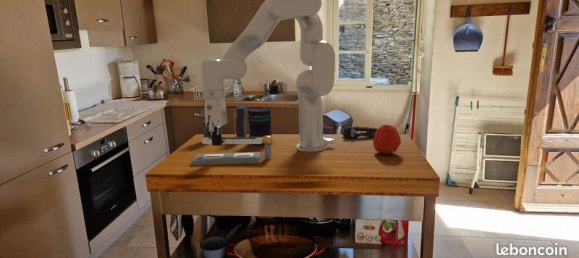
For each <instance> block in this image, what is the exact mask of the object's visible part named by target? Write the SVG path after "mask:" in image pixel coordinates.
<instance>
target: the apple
mask: <svg viewBox="0 0 579 258" xmlns="http://www.w3.org/2000/svg"><path fill="white" fill-rule="evenodd" d="M374 134H375V136H374V138H373V141H372V143H373V148H374V150H375V152H378V153H380V154H393V153H395V152H397V150H398V149H399V148H400V146H401V143H402V139H401V136H400V134H399V131H398V129H397V128H396V127H395V126H394V125H390V124H383V125H380V126H379V127H378V128H377V131H376V132H374Z"/></svg>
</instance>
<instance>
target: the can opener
mask: <svg viewBox="0 0 579 258" xmlns="http://www.w3.org/2000/svg"><path fill="white" fill-rule="evenodd" d="M377 129H378V128H376V127H368V126H360V125H356V126H347V127H344V128H343V133H341V134H342V136H343V137H345V138H348V139H349V140H353V139H354V140H355V139H356V138H359V137H367V138H373V139H374V136H375V133H376V131H377ZM372 132H373V133H372Z"/></svg>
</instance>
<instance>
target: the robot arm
mask: <svg viewBox="0 0 579 258" xmlns="http://www.w3.org/2000/svg"><path fill="white" fill-rule="evenodd" d="M322 3H323V2H322V0H264V1H263V2H262V4H261V6H260V7H259V9H258V10H257V11H256V13H255V14H254V15H253V17H252V19H251V20H250V22H249V23H248V25H247V26H246V27H245V29H244V30H243V31H242V32H241V33H240V34H239V36H238V37H237V38H236V39H235V40H234V41H233V42H232V44H231V45H230V46H229V48H228V49H227V50H226V52H225V53H224V55H223V57H222V58H221V59H220V58H207V59H206V58H205V59H202V61H201V63H200V64H201V80H202V96H203V100H204V108H205V124H206V127H209V132H211V135H212V144H211V145H212V146H215V147H216V146H217V147H218V146H219V147H220V146H221V145H223V144H222V137H223V136H222V132H223V127H224V126H225V125H227V123H228V116H227V115H228V114H227V106H226V89H225V79H226V80H227V79H228V80H240V79H242V78H244V76H246V74H247V72H248V66H247V63H246V62H245V61H246V59H247V58H248V57H249V56H250V55H251V54H252V53H253V52H255V51H256V50H258V49H259V48H261V47H262V46H263V45H264V44H265V43H267V41H268V39H269V38H270V36H271V35H272V33H273V31H274V30H275V29H276V27H277V26H278V24H279V23H280V22H281V21H284V20H285V21H286V20H292V19H295V20H296V21H297V24H298V25H299V28H300V49H299V56H300V57H299V59H300V61H301V62H302V64H303V65H305V66H308V67H311V69H305V70H302V71H300V73H299V74H298V75H297V77H296V80H295V88H296V93H297V99H298V129H299V130H298V131H299V134H298V135H299V143H297V144H296V145H295V149H296V150H298V151H301V152H320V151H324V150H326V149H328V146H327V145H328V144H329V145H335V144H336V141H335V138H325V137H324V122H323V121H324V117H323V115H324V112H323V110H324V109H323V108H324V107H323V105H324V104H323V99H322V97H324V96H327V95H329V94H331V92H332V91H333V88H334V84H335V71H336V53H335V49H334V47H333V45H332V44H331V43H330V42H328V41H326V40H324V36H323V35H324V34H323V31H324V29H323V23H322V22H323V21H322V20H321V17H320V16H319V12H320V10H321V9H322Z"/></svg>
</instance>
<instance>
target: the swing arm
mask: <svg viewBox="0 0 579 258" xmlns="http://www.w3.org/2000/svg"><path fill="white" fill-rule="evenodd" d="M201 140H202V141H201V144H202V145H212V137H205V138H204V137H203V138H202V139H201ZM262 142H263V143H264V144H270V143H272V144H273V135H272V136H270V135H266V136H262V137H249V136H246V137H236V136H222V145H230V144H231V145H250V144H261V143H262Z"/></svg>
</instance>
